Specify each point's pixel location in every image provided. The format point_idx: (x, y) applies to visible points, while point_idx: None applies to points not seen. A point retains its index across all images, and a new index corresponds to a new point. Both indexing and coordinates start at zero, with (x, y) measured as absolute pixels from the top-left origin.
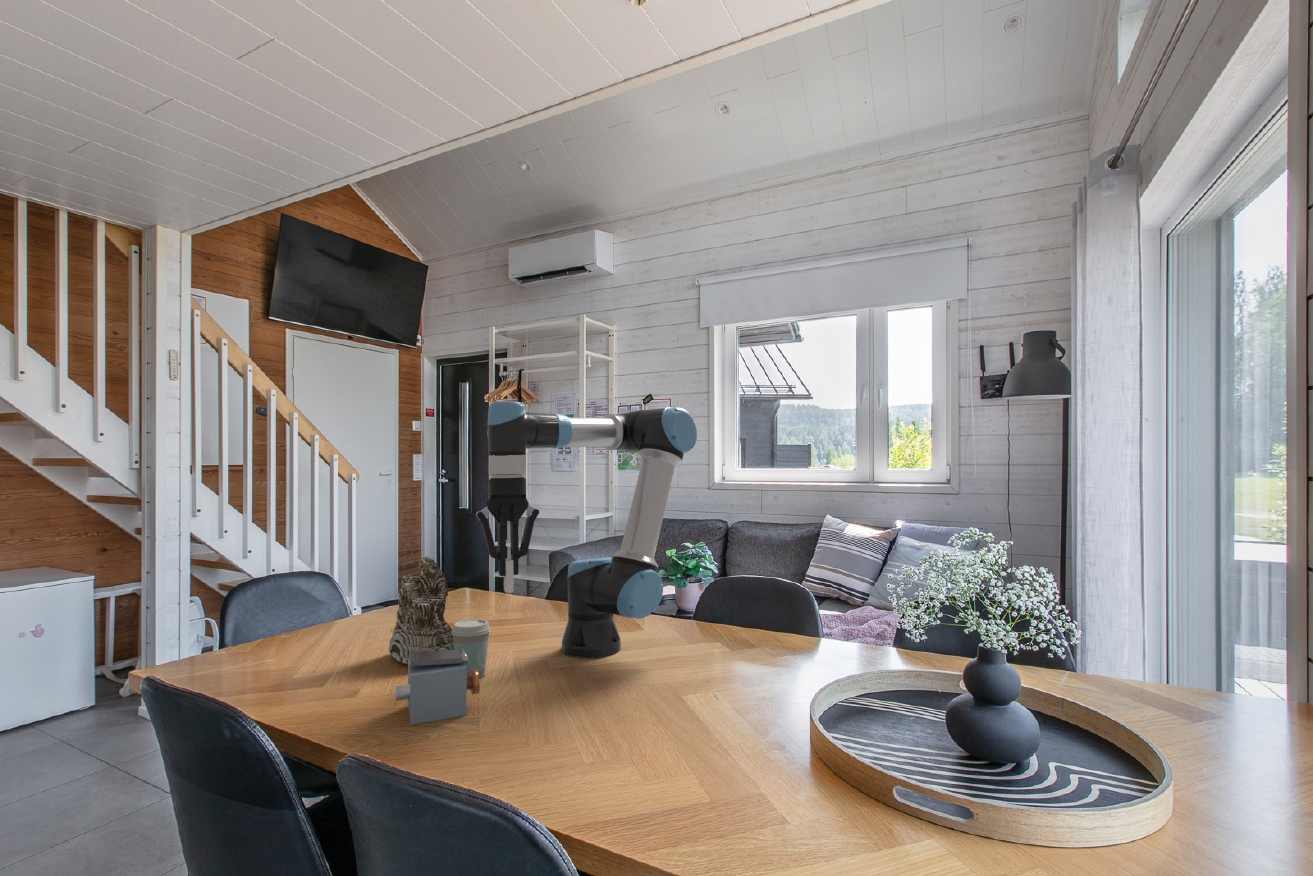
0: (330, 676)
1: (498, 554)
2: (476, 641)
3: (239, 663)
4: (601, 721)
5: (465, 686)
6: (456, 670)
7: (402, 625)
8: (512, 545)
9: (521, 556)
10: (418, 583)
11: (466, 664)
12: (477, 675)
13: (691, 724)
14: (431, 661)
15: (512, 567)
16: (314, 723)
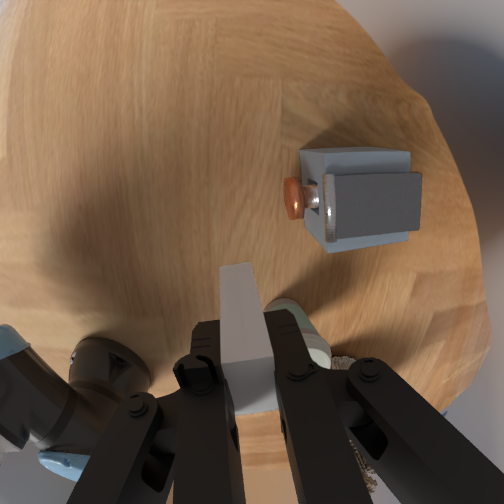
0: (422, 340)
1: (334, 394)
2: None
3: (459, 374)
4: (105, 76)
5: (314, 151)
6: (341, 152)
7: None
8: (231, 463)
9: (164, 397)
10: (366, 462)
11: (296, 310)
12: (293, 187)
13: (22, 63)
14: (389, 173)
15: (226, 331)
16: (452, 201)
